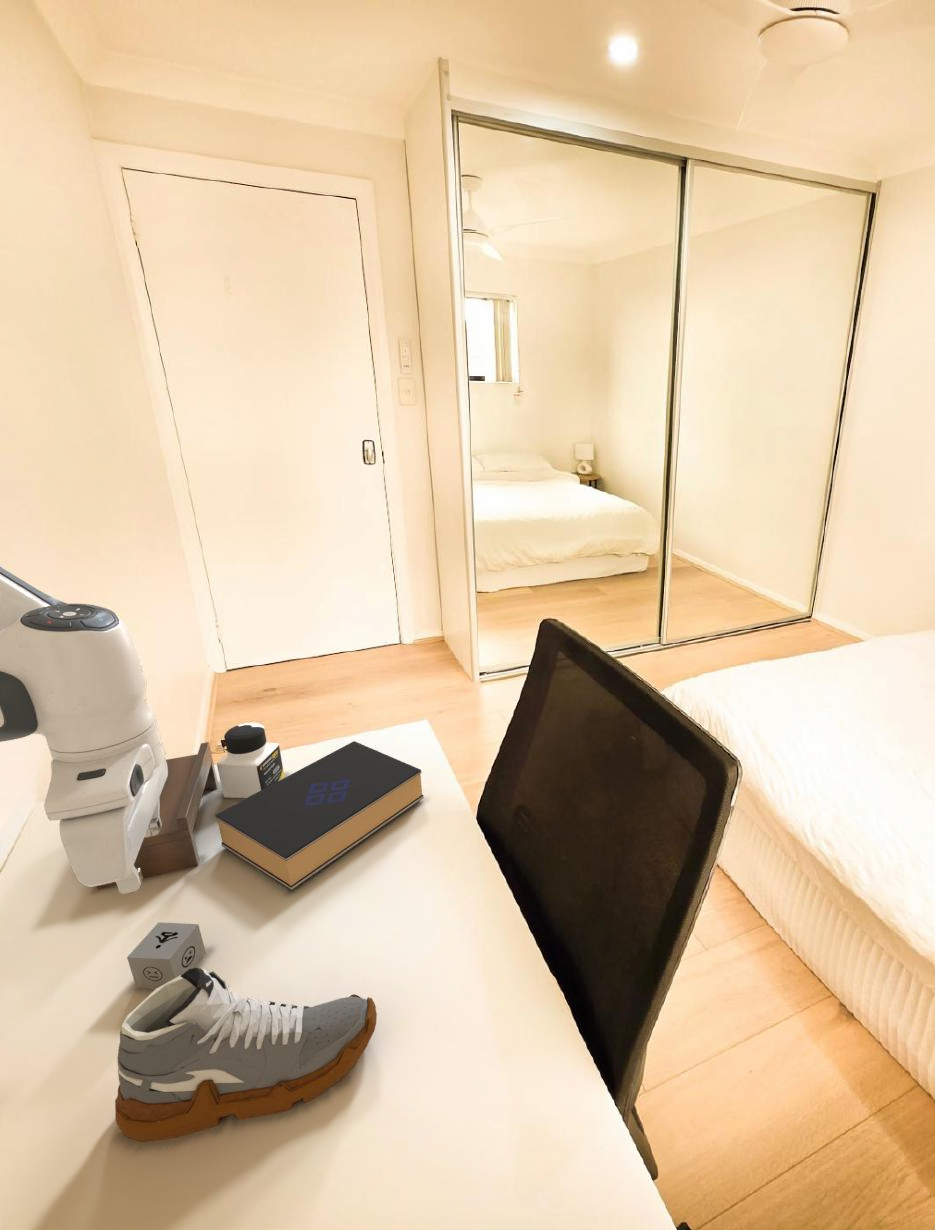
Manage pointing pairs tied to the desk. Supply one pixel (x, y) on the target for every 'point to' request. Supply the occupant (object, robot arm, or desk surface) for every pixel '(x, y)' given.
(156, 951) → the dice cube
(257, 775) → the medicine bottle
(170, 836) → the wooden cradle stand
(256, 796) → the book
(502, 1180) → the desk surface
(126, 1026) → the sneaker
